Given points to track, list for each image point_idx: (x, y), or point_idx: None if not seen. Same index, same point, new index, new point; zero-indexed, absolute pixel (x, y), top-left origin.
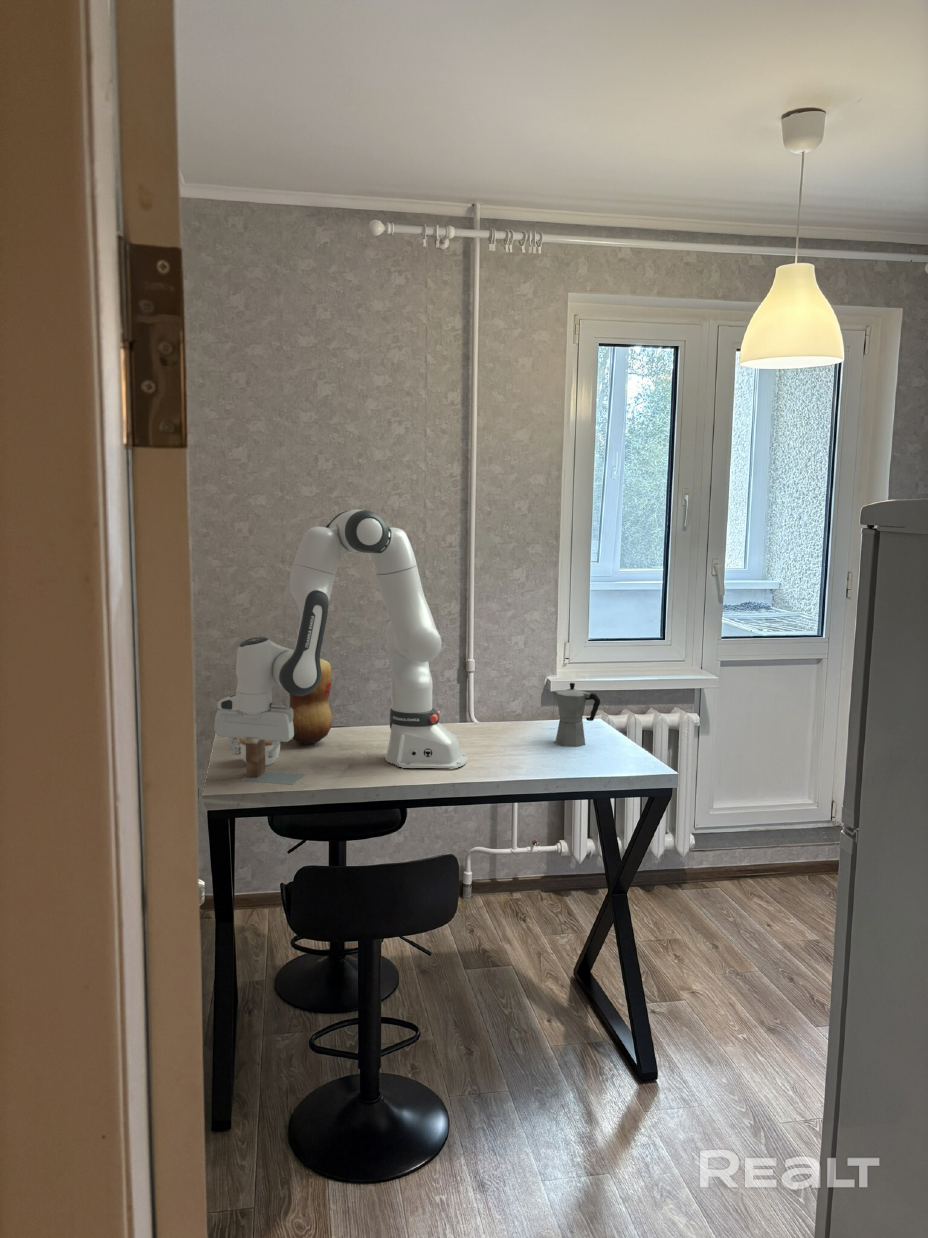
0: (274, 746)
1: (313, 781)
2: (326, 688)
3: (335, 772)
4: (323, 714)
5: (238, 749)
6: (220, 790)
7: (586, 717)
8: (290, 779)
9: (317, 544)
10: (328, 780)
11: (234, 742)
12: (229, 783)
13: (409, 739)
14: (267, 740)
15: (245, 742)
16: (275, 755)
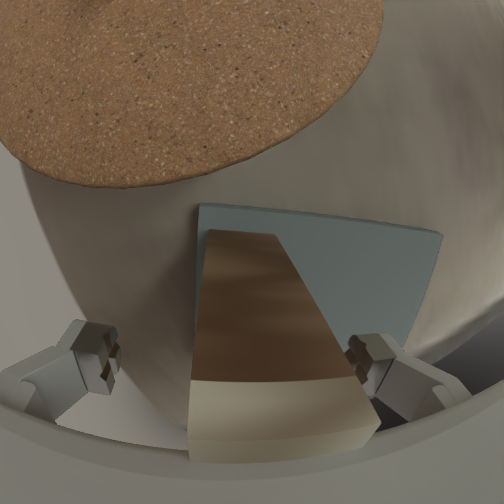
0: (411, 416)
1: (451, 270)
2: None
3: (496, 162)
4: None
5: (111, 385)
6: (169, 407)
7: None
8: (396, 310)
9: None
10: (481, 251)
11: (47, 391)
12: (156, 354)
13: None
14: (299, 84)
15: (44, 172)
16: (386, 337)
